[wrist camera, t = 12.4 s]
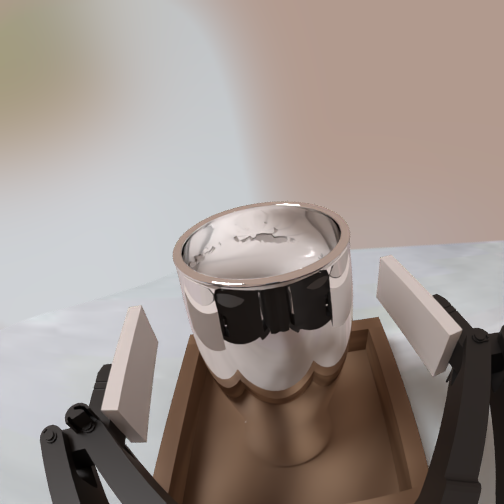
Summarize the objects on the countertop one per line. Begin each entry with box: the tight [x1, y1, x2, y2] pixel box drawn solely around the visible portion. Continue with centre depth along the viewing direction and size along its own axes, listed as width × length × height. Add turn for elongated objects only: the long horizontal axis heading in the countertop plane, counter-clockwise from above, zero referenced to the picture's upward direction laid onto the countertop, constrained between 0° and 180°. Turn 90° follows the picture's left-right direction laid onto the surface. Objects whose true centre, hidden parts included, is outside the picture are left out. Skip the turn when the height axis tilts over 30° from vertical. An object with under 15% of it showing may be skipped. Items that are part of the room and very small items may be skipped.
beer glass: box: [173, 202, 353, 466], centre depth 15 cm, size 7×7×15 cm
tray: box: [153, 317, 429, 504], centre depth 18 cm, size 16×16×4 cm
